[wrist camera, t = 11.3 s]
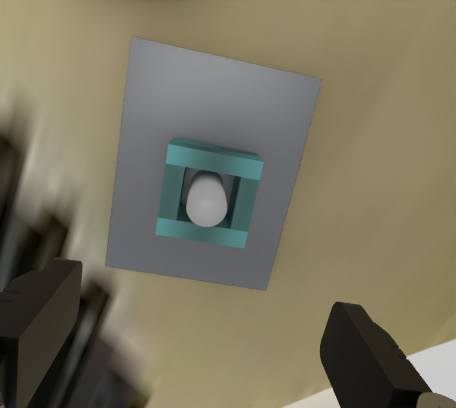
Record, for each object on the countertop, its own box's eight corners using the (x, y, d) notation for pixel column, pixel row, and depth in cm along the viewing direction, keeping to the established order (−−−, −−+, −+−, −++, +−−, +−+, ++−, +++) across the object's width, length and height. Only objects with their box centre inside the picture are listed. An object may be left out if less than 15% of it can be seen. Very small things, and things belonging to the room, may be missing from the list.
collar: (256, 153, 25) (263, 161, 22) (239, 229, 27) (244, 248, 24) (173, 137, 25) (168, 144, 21) (161, 216, 26) (155, 234, 23)
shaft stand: (316, 80, 28) (365, 73, 19) (263, 282, 33) (283, 349, 24) (135, 39, 26) (100, 12, 17) (109, 258, 31) (72, 321, 22)
